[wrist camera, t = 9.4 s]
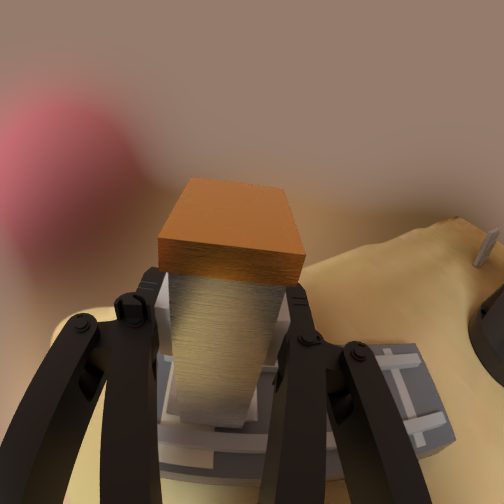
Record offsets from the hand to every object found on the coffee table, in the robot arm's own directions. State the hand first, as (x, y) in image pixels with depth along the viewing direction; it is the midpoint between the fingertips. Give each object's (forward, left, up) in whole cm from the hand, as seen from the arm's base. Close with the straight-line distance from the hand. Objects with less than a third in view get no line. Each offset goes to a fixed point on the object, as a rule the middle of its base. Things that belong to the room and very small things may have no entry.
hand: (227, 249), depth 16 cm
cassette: (-52, -23, -10) cm, 57 cm away
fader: (0, +5, -6) cm, 8 cm away
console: (-6, +5, -10) cm, 13 cm away
